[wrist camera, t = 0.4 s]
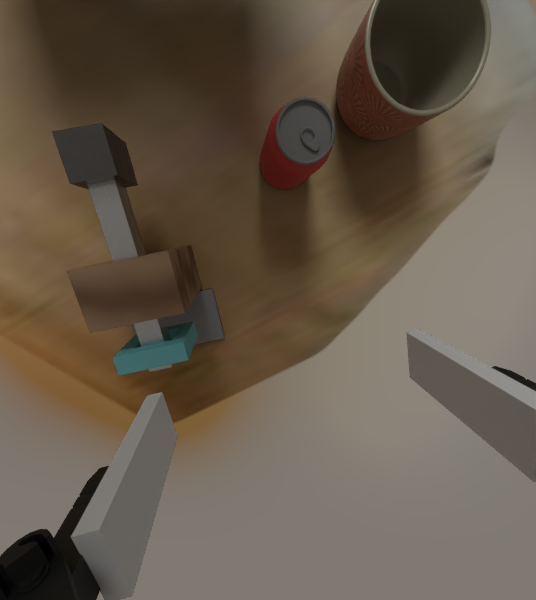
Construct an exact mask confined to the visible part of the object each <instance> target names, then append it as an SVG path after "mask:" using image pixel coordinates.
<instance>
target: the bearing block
mask: <svg viewBox="0 0 536 600" xmlns="http://www.w3.org/2000/svg"><path fill="white" fill-rule="evenodd" d="M67 273H68V276H69V278H70V281H71V284H72V286H73V289H74V292H75V294H76V297H77V300H78V302H79V305H80V308H81V310H82V313H83V316H84V318H85V321H86V324H87V326H88V329H89V332H90V333H92V332H97V331H102V330H106V329H111V328H116V327H121V326H125V325H130V324H135V323H140V322H144V321H149V320H154V319H159V318H163V317H168V316H173V315H178V314H182V313H185V312H186V311H187V309H188V308H189V306H190V305H191V303H192V301H193V300H194V298H195V297H196V295H197V294H198V292H199V291H200V289H201V288H202V287H201V283H200V279H199V276H198V272H197V268H196V264H195V260H194V256H193V252H192V248H191V246H185V247H180V248H175V249H170V250H165V251H160V252H155V253H150V254H146V255H144V256H139V257H134V258H129V259H124V260H118V261H110V262H105V263H101V264H96V265H91V266H87V267H82V268H77V269H73V270H68V271H67Z"/></svg>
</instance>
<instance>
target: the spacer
mask: <svg viewBox="0 0 536 600" xmlns="http://www.w3.org/2000/svg"><path fill="white" fill-rule="evenodd" d="M168 330H169V333H170V337H171V340H170V341H165V342H160V343H156V344H151V345H147V346H142V347H141V345H140V342H139V339H138V336H137V334H136V335H135V336H134V337H133V338H132V339H131V340H130V341H129V342H128V343H127V344H126V345H125V346H124V347H123V348H122V349H121V350H120V351H119V352H118V353H117V354H116V355H115V356H114V357H113V361H114V363H115V366H116V369H117V372H118V374H119V376H120V375H125V374H129V373H134V372H138V371H143V370H147V369H152V368H156V367H161V366H165V365H170V364H174V363H179V362H183V361H188V360H189V358H190V355H191V353H192V350H193V347H194V345H195V342H196V339H197V337H198V334H197V331H196V327H195V323H194V321H192V322H187V323H182V324H177V325H173V326H168Z"/></svg>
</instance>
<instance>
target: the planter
mask: <svg viewBox="0 0 536 600" xmlns="http://www.w3.org/2000/svg"><path fill="white" fill-rule="evenodd" d="M490 38H491V21H490V13H489V8H488V4H487V1H486V0H374V1H373V2H372V4H371V6H370V8H369V10H368V12H367V14H366V15H365V17H364V19H363V21H362V23H361V25H360V26H359V28H358V30H357V32H356V34H355V36H354V38H353V40H352V42H351V44H350V46H349V48H348V50H347V52H346V54H345V57H344V59H343V62H342V64H341V67H340V70H339V74H338V79H337V86H336V98H337V104H338V109H339V112H340V114H341V117H342V119H343V121H344V122H345V124H346V125H347V126H348V127H349V128H350V129H351V130H352V131H353V132H354V133H355V134H357V135H358V136H361V137H363V138H366V139H369V140H384V139H389V138H392V137H395V136H398V135H400V134H403V133H405V132H407V131H409V130H411V129H413V128H415V127H417V126H419V125H421V124H423V123H425V122H427V121H428V120H430V119H432V118H434V117H436V116H438V115H439V114H441V113H443V112H445V111H447V110H449V109H451V108H452V107H454V106H455V105H456V104H458V103H459V102H460V101H461V100H462V99H463V98H464V97H465V96H466V95H467V94H468V93H469V92H470V90H471V89H472V88H473V86H474V85H475V83H476V82H477V80H478V78H479V76H480V74H481V72H482V70H483V68H484V65H485V62H486V59H487V55H488V51H489V46H490Z"/></svg>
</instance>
